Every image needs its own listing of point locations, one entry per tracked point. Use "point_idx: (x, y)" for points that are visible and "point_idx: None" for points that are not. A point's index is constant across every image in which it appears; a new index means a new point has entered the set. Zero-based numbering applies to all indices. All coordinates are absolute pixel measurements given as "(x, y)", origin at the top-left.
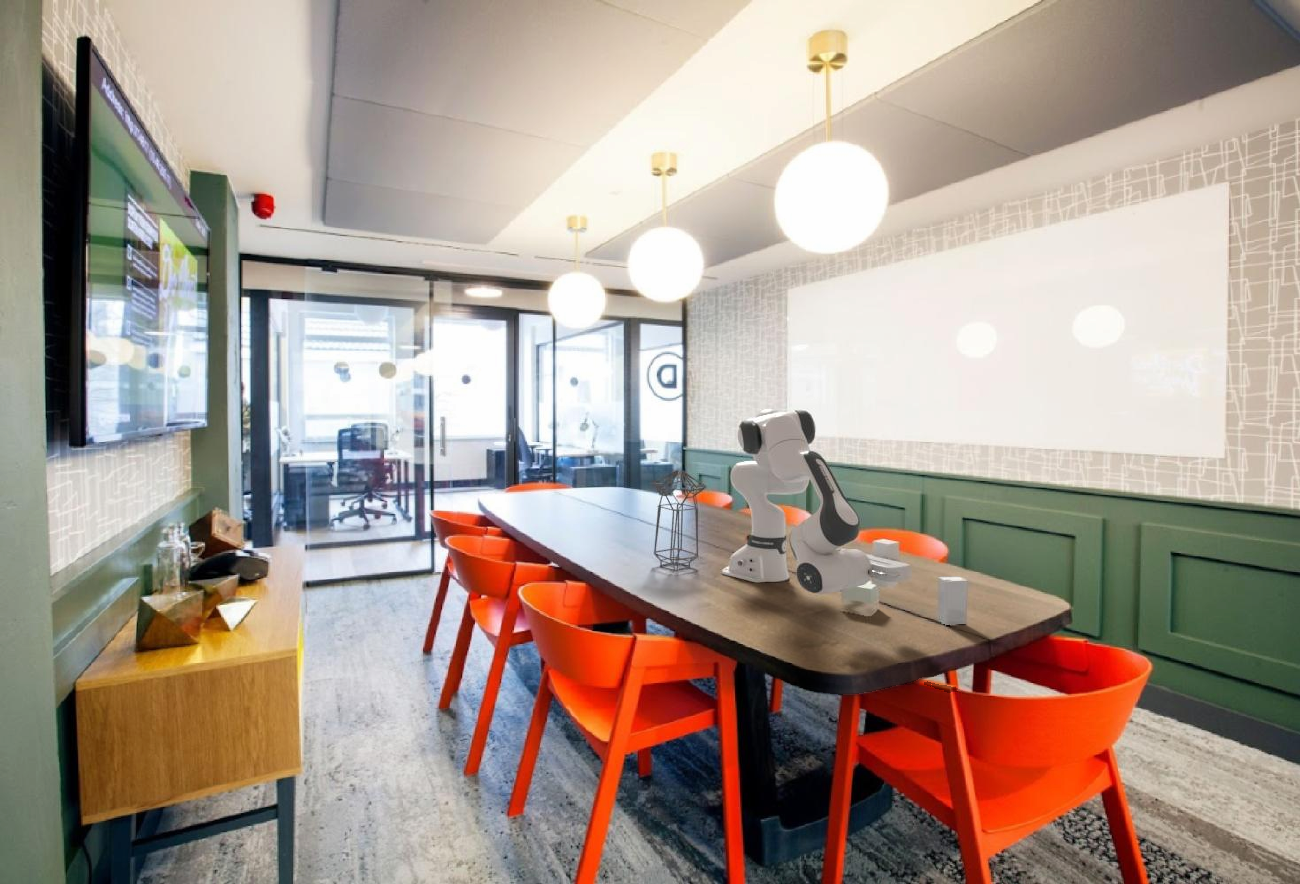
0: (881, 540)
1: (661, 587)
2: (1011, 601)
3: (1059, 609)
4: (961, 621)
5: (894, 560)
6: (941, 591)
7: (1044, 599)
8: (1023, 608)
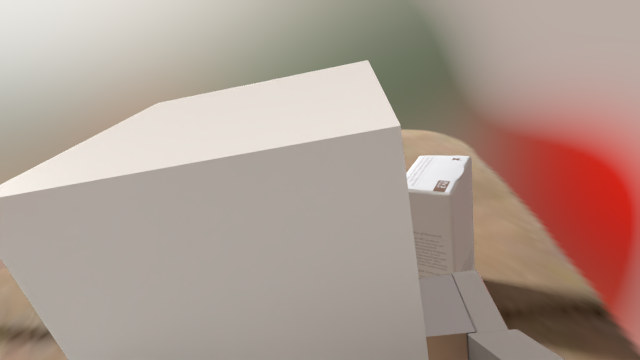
0: (148, 122)
1: None
2: None
3: (452, 138)
4: None
5: (468, 324)
6: (420, 231)
7: (406, 133)
8: None
